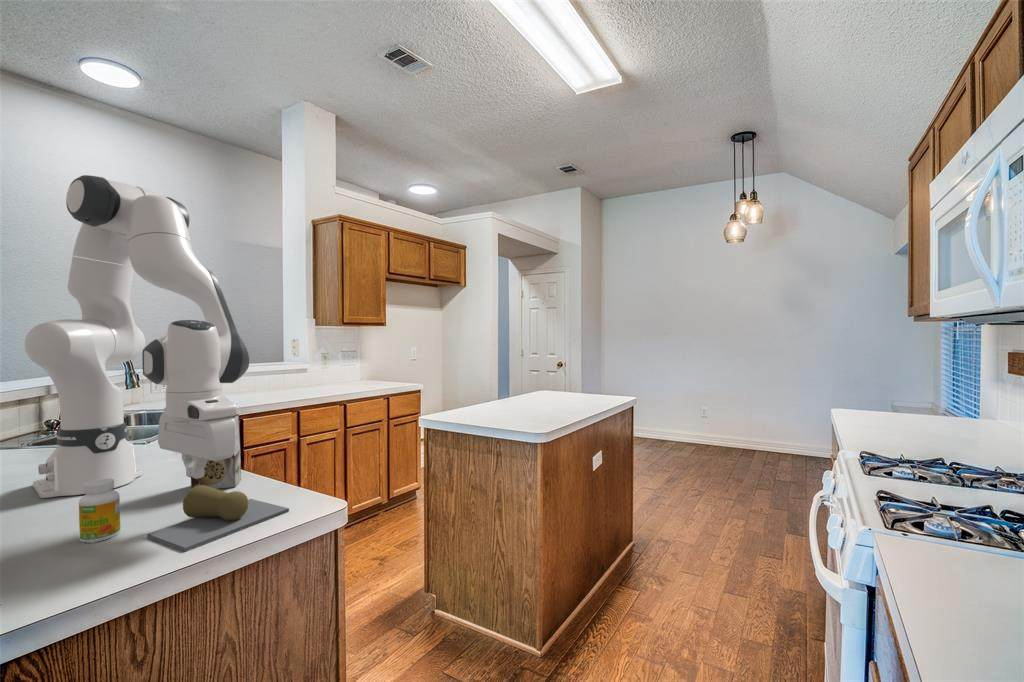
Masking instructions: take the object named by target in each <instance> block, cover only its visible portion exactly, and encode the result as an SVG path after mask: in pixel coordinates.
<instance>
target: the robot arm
mask: <svg viewBox="0 0 1024 682" xmlns="http://www.w3.org/2000/svg"><path fill="white" fill-rule="evenodd" d="M67 189H68V190H67V192H66V199H65V200H66V201H65V204H66V209H67V211H68V213H69V214H70V215H71V217H72V218H73V219H74V220H75V221H78V222H80V223H81V226H80V229H79V232H78V233H77V237H76V239H75V243H74V246H73V247H74V248H73V251H72V257H71V263H70V267H69V268H70V269H69V273H68V274H69V275H68V281H67V290H68V292H69V294H70V296H71V297H73V299H76V301H77V303H78V304H79V308H80V310H81V319H71V318H70V319H69V318H66V319H57V320H52V321H46V322H42V323H39V324H37V325H34V326H33V327H32V328H31V329H30V330H28V332H27V334H26V337H25V339H24V350H25V353H26V355H27V357H28V358H29V359H30V360H31V361H32V362H33V363H35V364H36V365H38V366H39V367H41V368H42V369H43V370H44V371H45V372H46V373H47V374H48V376H49V377H50V379H51V381H52V382H53V385H54V387H55V389H56V393H57V397H58V402H59V403H58V404H59V415H60V417H59V418H60V428H59V429H58V431H57V432H58V433H57V435H56V445H57V446H56V448H55V449H54V450H53V452H52V453H51V454H50V455H49V457H47V459H46V460H45V463H40V464H38V467H37V469H38V475H45V477H43V478H41V479H40V478H39V479H37V480H33V482H32V484H31V485H32V488H33V489H34V491H35V492H36V494H37V495H38V496H39V498H40V499H47V498H48V499H50V498H54V497H55V498H56V497H63V496H64V497H65V496H66V497H67V496H78V495H86V493H84V484H85V483H87V482H90V481H94V480H98V479H114V488H113V489H115V488H119V487H122V486H126V484H127V485H128V484H130V483H132V482H133V481H135V479H137V478H138V477H142V476H143V470H140V469H139V470H138V469H137V467H136V466H137V465H136V458H135V449H134V448H135V447H134V444H133V443H132V442H131V441H128V440H127V439H126V438H127V437H128V436H127V435H128V433H127V432H128V428H127V422H125V421H124V417H125V415H124V413H125V412H124V393H123V390H122V389H121V388H120V386H117V385H116V384H115V383H113V382H112V380H111V379H110V377H109V375H108V373H107V370H106V366H116V365H122V364H123V363H127V362H129V361H132V360H134V359H136V358H138V357H139V356H140V355H142V359H141V360H142V374H143V376H144V377H145V378H146V379H148V380H149V381H150V382H151V383H154V384H156V385H162V386H166V388H165V407H164V408H163V412H162V413H161V414H160V417H159V420H158V429H157V444H158V446H159V449H161V450H165V451H170V452H174V453H178V454H181V460H182V462H183V465H184V467H185V475H186V477H188V478H191V477H192V478H195V479H198V478H202V477H203V476H204V468H205V466H206V464H207V461H208V460H212V461H218V460H223V459H227V458H230V457H232V456H233V454H234V452H235V448H236V424H235V421H234V419H233V418H232V417H231V416H235V415H236V414H238V413H237V412H238V408H237V404H235V403H234V402H232V401H231V400H230V399H228V398H227V397H226V396H225V394H222V384H233V383H235V382H237V381H238V380H239V379H240V378H241V377H243V375H245V373H246V372H247V371H248V369H249V366H250V355H249V351H248V348H247V346H246V345H245V343H244V341H243V340H242V337H241V336H240V333H239V332H238V330H237V327H236V324H235V322H234V319H233V317H232V315H231V311H230V309H229V306H228V303H227V300H226V298H225V296H224V293H223V291H222V288H221V286H220V283H219V281H218V279H217V277H216V276H215V274H214V273H213V272H212V271H211V270H209V269H208V268H206V267H205V266H204V265H203V264H202V263H201V262H200V261H199V259H198V257H197V255H196V254H195V252H194V250H193V247H192V246H193V245H192V242H191V241H192V240H191V237H190V233H189V226H190V216H189V211H188V209H187V208H186V206H185V205H183V204H182V203H181V202H179V201H177V200H175V199H174V198H172V197H169V196H164V195H163V194H162V195H161V194H159V193H156V192H154V191H151V190H149V189H146V188H143V187H140V186H134V185H131V184H126V183H123V182H118V181H114V180H110V179H109V180H108V179H106V178H105V177H102V176H98V175H97V176H96V175H86V174H84V175H83V174H82V175H80V176H78V177H77V178H75V179H74V180H72V182H71V183H70V185H69V186H68V188H67ZM134 273H136V274H137V275H138V276H139V277H140V278H141V279H143V280H144V281H146V282H147V283H149V284H151V285H152V286H155V287H157V288H160V289H163V290H167V291H169V292H173V293H176V294H178V295H181V296H183V297H186V298H188V299H189V300H190V301H193V302H194V303H195V304H196V305H197V306H198V307H199V309H200V310H201V311H202V314H203V317H204V319H205V321H203V320H194V319H193V320H192V319H181V320H175V321H173V322H170V323H169V324H168V328H167V330H166V331H167V332H166V334H165V335H164V336H163V337H162V336H161V338H156V339H154V340H152V341H150V342H149V343H148V344H147V345H146V338H145V334H144V332H143V331H142V330H141V329H140V328H139V327H138V326H137V324H136V321H135V319H134V315H133V311H132V303H131V302H132V301H131V295H132V293H131V292H132V286H133V278H134Z"/></svg>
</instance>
